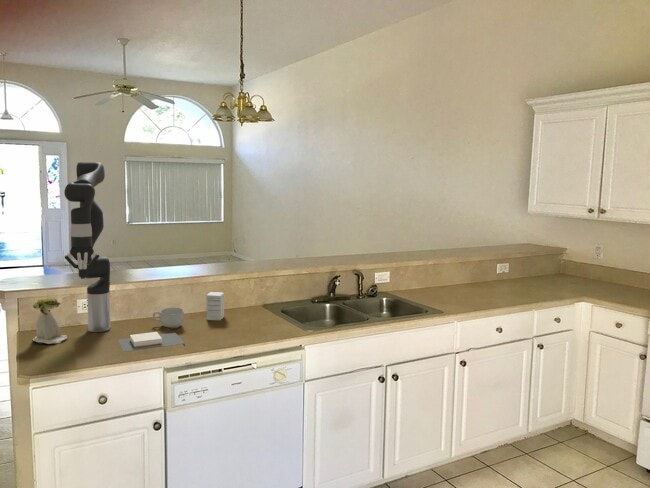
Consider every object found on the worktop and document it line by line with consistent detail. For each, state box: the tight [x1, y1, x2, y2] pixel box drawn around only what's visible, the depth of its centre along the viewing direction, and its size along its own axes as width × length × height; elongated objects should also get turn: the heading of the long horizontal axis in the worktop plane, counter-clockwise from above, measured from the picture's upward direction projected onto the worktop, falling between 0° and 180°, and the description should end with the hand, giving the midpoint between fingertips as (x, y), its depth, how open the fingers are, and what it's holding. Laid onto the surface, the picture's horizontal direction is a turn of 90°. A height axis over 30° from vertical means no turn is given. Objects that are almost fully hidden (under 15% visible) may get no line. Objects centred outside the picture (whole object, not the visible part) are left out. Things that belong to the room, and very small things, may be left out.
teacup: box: [152, 306, 185, 330], centre depth 238 cm, size 14×11×8 cm
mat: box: [117, 332, 185, 353], centre depth 214 cm, size 16×24×1 cm, turn 120°
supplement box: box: [206, 291, 225, 321], centre depth 254 cm, size 7×7×13 cm
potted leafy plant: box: [31, 297, 68, 345], centre depth 212 cm, size 12×13×18 cm
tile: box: [129, 331, 162, 347], centre depth 213 cm, size 10×2×11 cm
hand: (82, 278), depth 202 cm, fingers closed
